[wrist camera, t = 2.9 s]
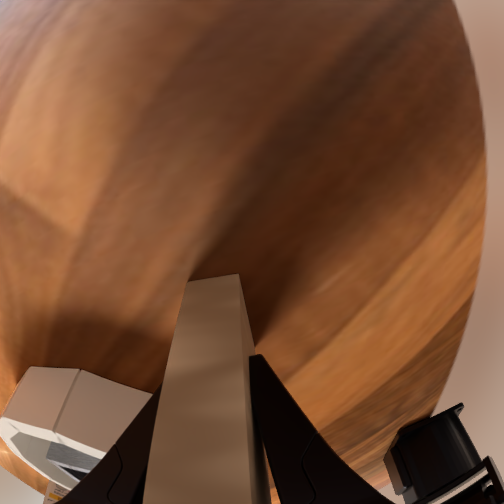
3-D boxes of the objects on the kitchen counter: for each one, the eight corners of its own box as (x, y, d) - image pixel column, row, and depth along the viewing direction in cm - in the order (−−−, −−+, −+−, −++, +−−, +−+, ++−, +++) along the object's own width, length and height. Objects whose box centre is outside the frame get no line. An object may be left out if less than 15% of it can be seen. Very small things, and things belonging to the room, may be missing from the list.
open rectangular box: (114, 422, 12) (102, 470, 9) (170, 476, 16) (167, 512, 13) (53, 414, 12) (37, 453, 9) (115, 470, 16) (108, 502, 13)
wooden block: (238, 273, 10) (254, 539, 2) (254, 348, 11) (276, 548, 4) (186, 281, 10) (139, 531, 2) (211, 354, 11) (205, 550, 4)
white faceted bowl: (184, 365, 11) (173, 445, 8) (247, 480, 18) (250, 520, 14) (-15, 361, 11) (-40, 399, 8) (91, 470, 18) (84, 501, 14)
